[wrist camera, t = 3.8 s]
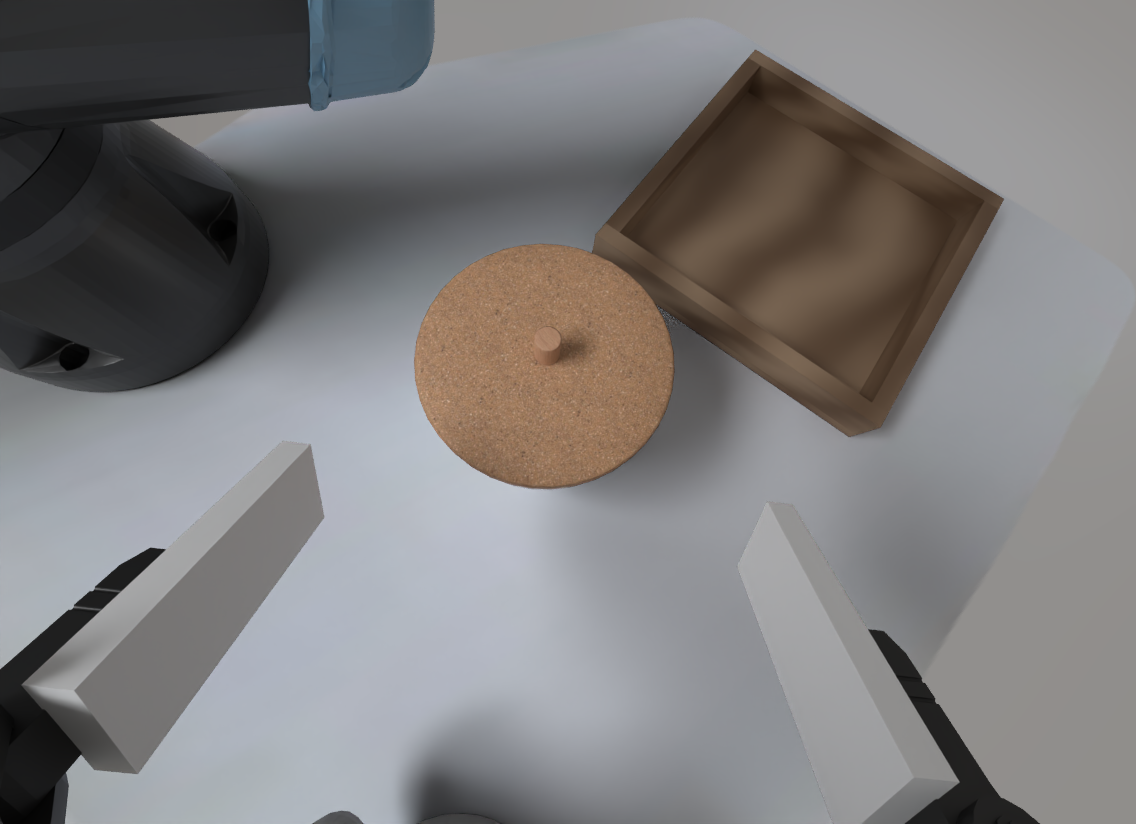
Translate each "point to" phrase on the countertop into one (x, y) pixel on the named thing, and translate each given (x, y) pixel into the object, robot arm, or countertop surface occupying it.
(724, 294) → the walnut square tray
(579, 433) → the lidded jar
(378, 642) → the countertop surface
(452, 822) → the coffee mug
